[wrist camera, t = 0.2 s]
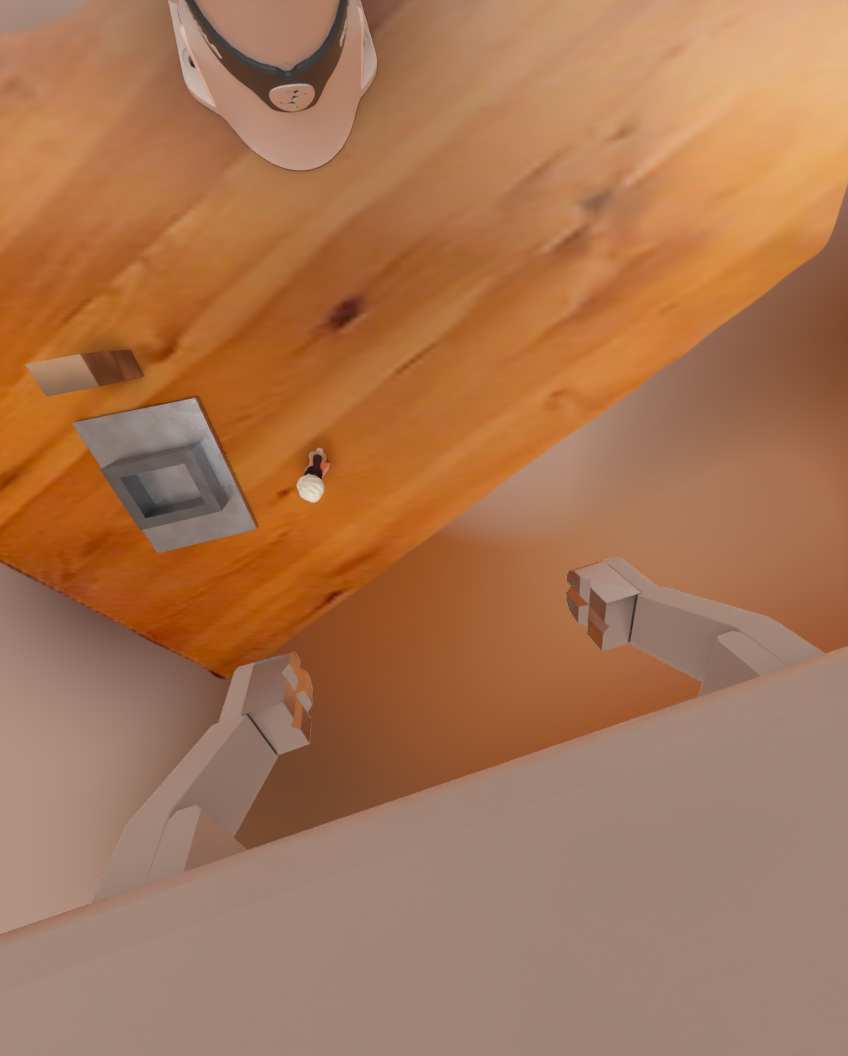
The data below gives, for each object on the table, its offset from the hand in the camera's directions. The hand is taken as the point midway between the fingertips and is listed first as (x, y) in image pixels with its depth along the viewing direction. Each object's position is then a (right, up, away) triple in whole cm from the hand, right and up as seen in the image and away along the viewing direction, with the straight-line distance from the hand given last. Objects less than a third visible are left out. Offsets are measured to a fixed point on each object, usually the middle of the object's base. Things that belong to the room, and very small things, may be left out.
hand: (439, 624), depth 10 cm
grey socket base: (-36, +10, +41) cm, 55 cm away
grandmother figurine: (-17, +13, +44) cm, 49 cm away
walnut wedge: (-38, +23, +34) cm, 56 cm away
